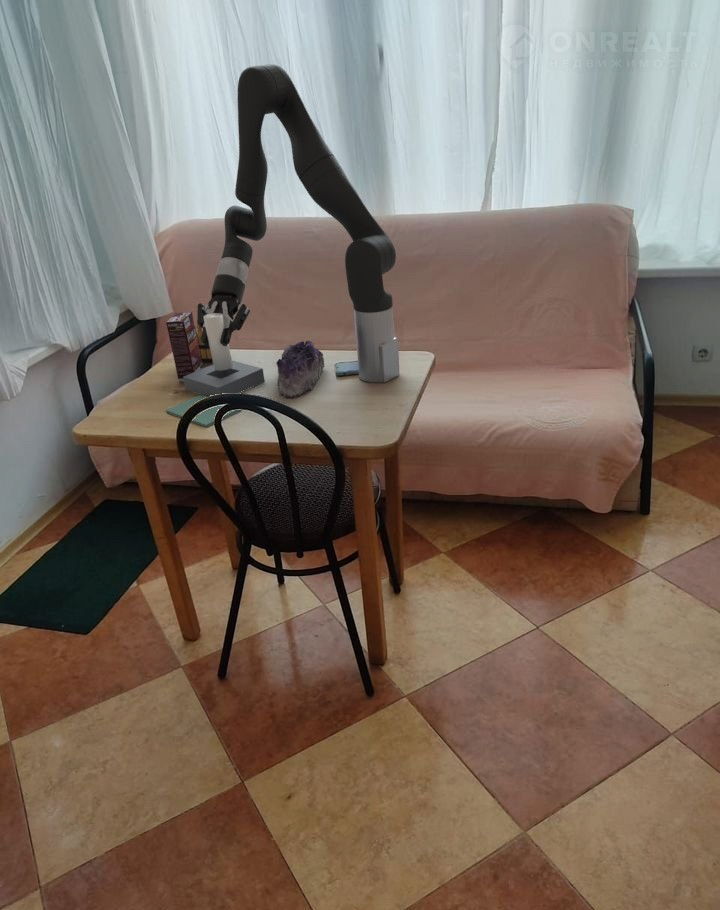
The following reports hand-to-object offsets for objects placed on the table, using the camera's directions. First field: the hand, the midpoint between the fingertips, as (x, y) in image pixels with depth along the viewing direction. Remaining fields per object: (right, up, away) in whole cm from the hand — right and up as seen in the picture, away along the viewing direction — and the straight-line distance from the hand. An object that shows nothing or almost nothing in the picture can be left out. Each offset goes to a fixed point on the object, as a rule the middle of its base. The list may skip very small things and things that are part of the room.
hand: (214, 344), depth 151 cm
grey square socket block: (+1, -9, +7) cm, 12 cm away
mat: (-1, -17, -6) cm, 18 cm away
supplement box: (-10, -6, +16) cm, 19 cm away
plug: (+1, -5, +5) cm, 7 cm away
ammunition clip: (-7, -1, +24) cm, 25 cm away
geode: (+20, -9, +5) cm, 23 cm away
